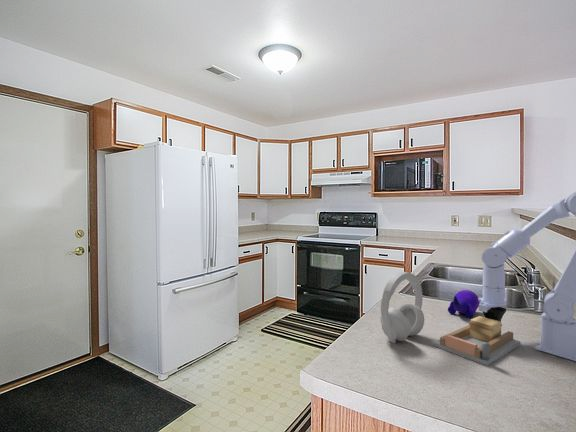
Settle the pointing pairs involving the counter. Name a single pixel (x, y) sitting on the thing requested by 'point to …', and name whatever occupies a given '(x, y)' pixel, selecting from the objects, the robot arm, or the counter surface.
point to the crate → (485, 328)
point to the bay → (477, 345)
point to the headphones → (401, 310)
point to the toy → (464, 303)
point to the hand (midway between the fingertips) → (493, 330)
